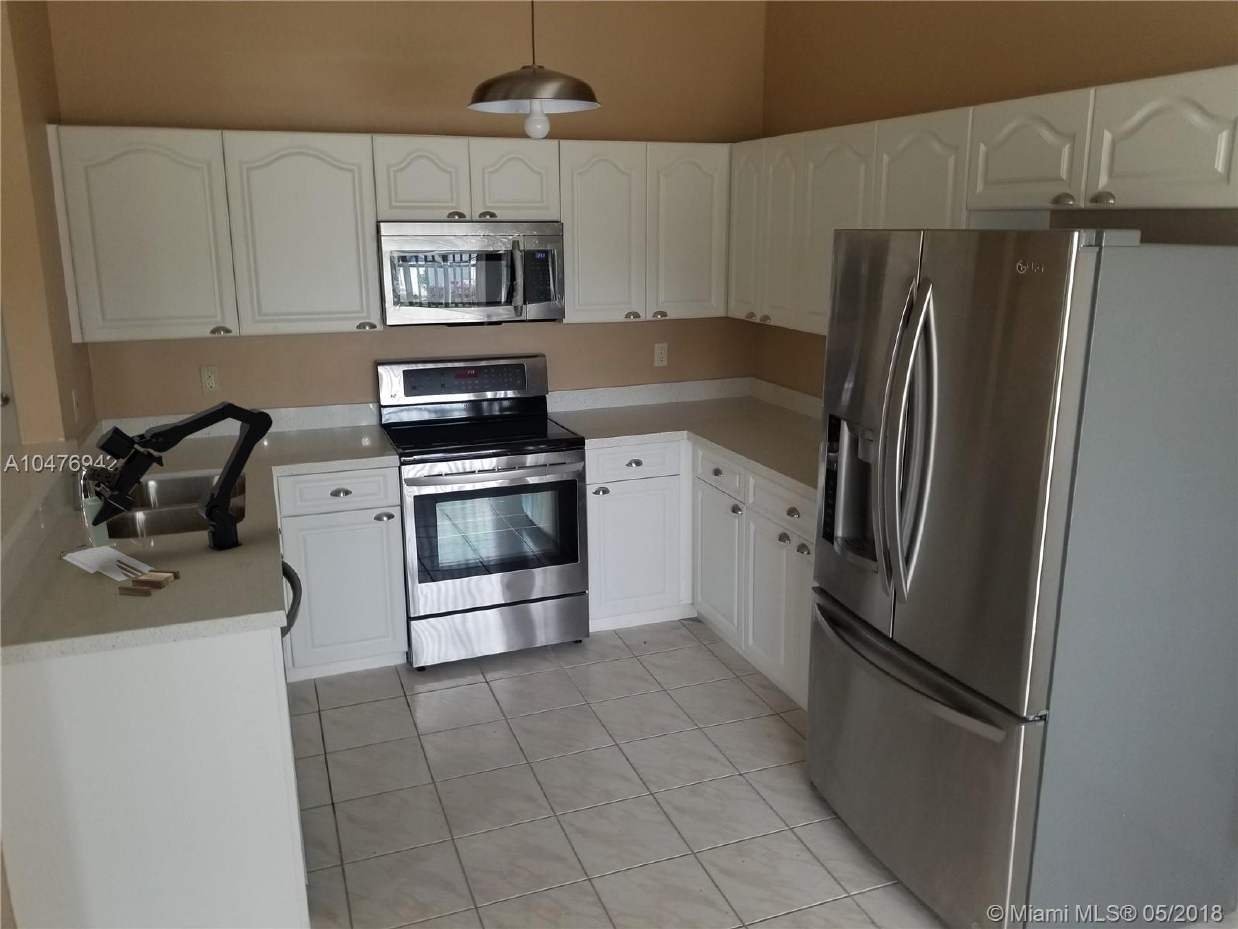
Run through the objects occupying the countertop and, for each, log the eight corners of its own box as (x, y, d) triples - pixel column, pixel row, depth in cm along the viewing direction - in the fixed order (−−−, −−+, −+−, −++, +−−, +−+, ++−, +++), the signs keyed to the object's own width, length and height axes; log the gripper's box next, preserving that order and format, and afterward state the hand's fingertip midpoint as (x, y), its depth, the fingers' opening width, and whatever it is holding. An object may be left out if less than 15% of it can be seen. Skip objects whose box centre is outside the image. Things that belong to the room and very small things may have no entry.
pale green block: (103, 538, 233) (96, 496, 230) (109, 544, 228) (102, 502, 225) (90, 541, 231) (83, 499, 228) (96, 547, 226) (88, 504, 223)
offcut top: (149, 575, 224) (149, 572, 224) (173, 576, 223) (173, 573, 223) (138, 581, 220) (138, 578, 220) (163, 582, 219) (162, 579, 219)
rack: (152, 579, 226) (150, 569, 225) (180, 580, 225) (179, 570, 224) (119, 597, 215) (118, 587, 214) (149, 599, 214) (147, 588, 213)
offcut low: (150, 578, 224) (149, 575, 224) (174, 579, 223) (173, 576, 223) (139, 584, 220) (138, 581, 220) (163, 586, 219) (163, 582, 219)
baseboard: (108, 590, 221) (158, 575, 230) (106, 578, 220) (156, 564, 229) (56, 562, 240) (105, 549, 249) (54, 551, 239) (103, 539, 248)
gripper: (95, 445, 233) (52, 496, 229) (112, 459, 219) (67, 513, 215) (134, 470, 240) (93, 519, 236) (152, 484, 226) (110, 537, 222)
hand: (90, 522), depth 227 cm, fingers closed on pale green block, 6 cm apart
